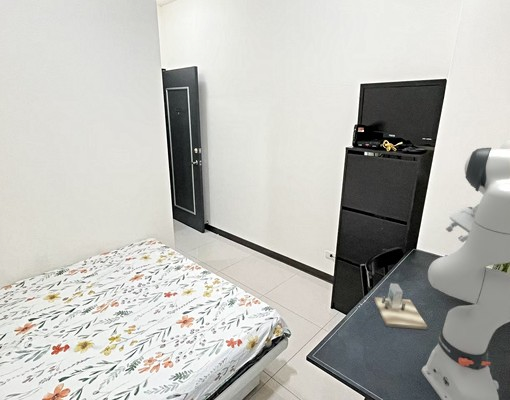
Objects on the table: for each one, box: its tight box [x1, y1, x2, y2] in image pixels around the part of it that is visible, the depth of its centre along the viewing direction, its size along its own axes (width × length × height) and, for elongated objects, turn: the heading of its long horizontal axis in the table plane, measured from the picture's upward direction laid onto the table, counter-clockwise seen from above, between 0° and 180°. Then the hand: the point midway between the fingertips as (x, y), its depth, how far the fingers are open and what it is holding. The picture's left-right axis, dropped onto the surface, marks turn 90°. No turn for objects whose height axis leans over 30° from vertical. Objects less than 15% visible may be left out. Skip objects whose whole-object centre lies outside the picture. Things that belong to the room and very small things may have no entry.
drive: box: [387, 283, 404, 310], centre depth 120 cm, size 6×3×9 cm, turn 175°
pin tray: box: [373, 295, 428, 330], centre depth 119 cm, size 16×15×4 cm
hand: (453, 235), depth 119 cm, fingers open, 8 cm apart
